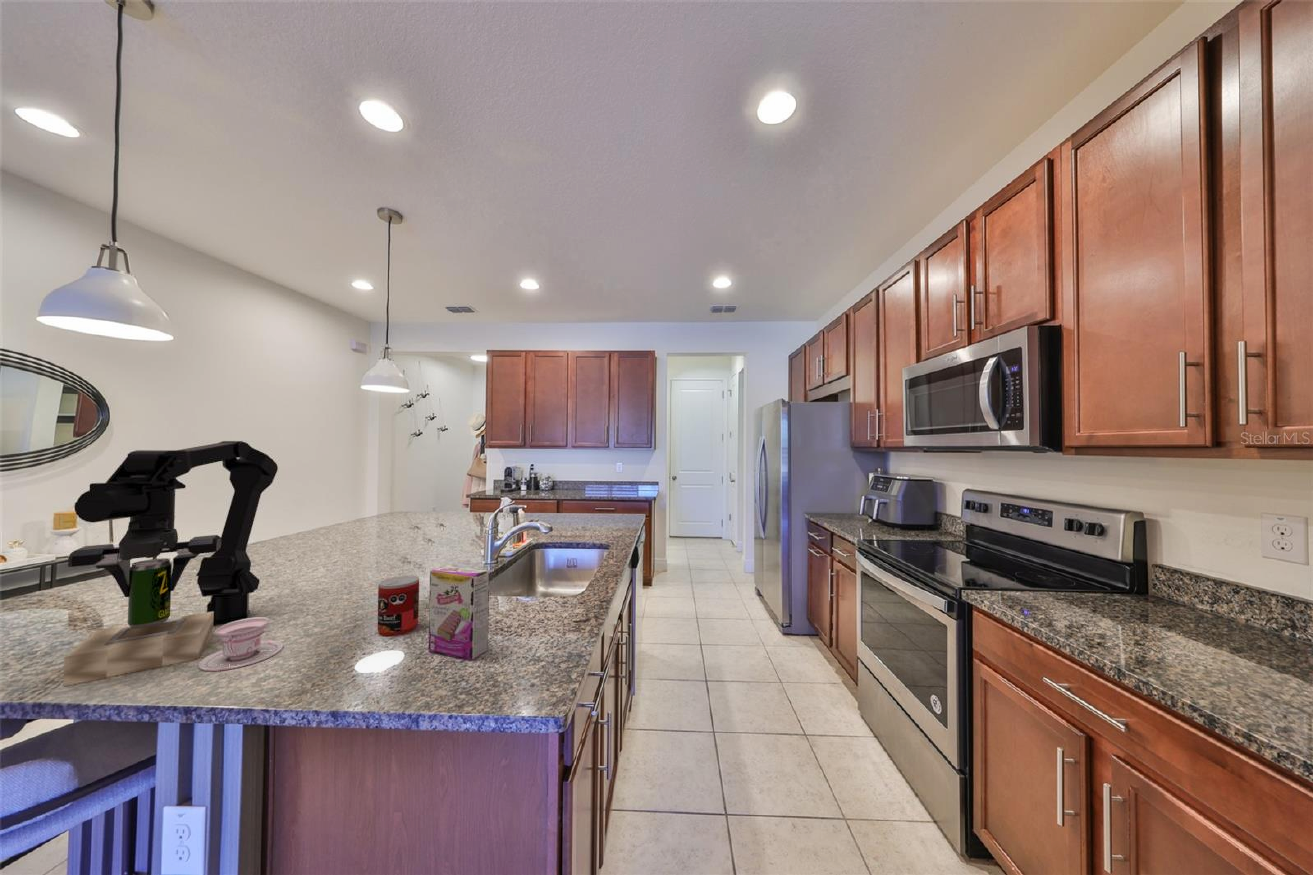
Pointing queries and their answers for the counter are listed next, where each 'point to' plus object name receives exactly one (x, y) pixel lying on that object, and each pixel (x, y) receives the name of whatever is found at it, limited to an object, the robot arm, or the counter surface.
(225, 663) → the teacup
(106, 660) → the socket block
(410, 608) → the canned food
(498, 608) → the counter surface
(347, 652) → the counter surface
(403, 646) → the counter surface
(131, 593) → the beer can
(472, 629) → the candy bar box
